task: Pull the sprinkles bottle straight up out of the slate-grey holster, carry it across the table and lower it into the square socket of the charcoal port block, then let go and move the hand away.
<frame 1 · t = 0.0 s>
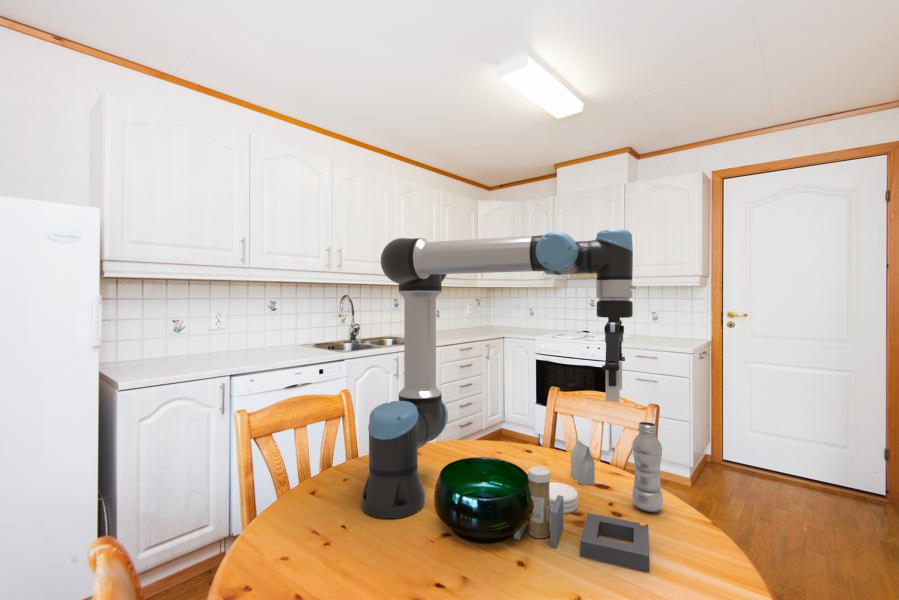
hand: (614, 394, 96), 28 cm above the table, tool pointing down, fingers open, 13 cm apart
port block: (615, 547, 86), on the table
grey gabled carton: (582, 480, 118), on the table
white round stack: (556, 505, 104), on the table
plastic bottle: (647, 509, 101), on the table
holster: (539, 533, 91), on the table
sprinkles bottle: (539, 534, 91), on the table
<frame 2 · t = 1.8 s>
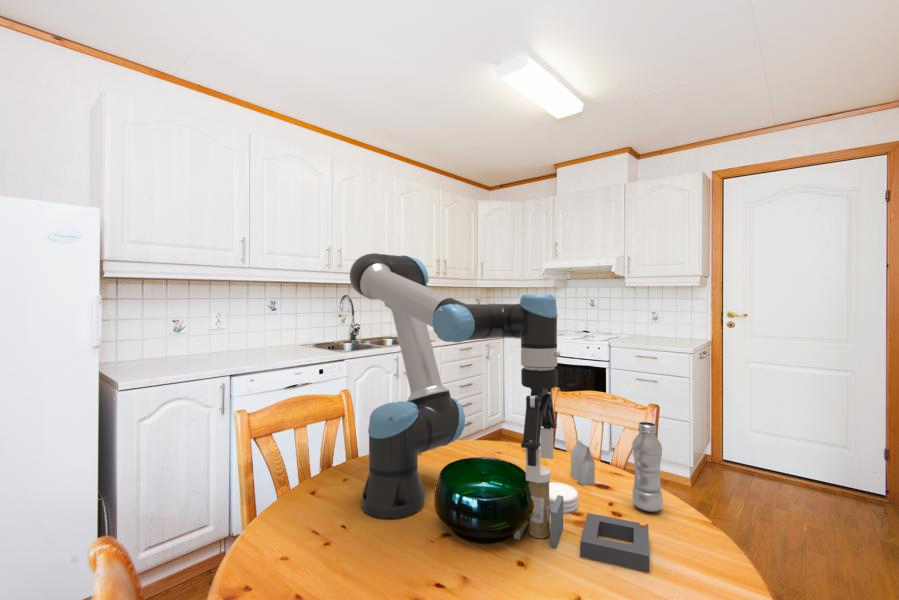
hand: (540, 468, 90), 14 cm above the table, tool pointing down, fingers open, 13 cm apart
nothing on the table moved.
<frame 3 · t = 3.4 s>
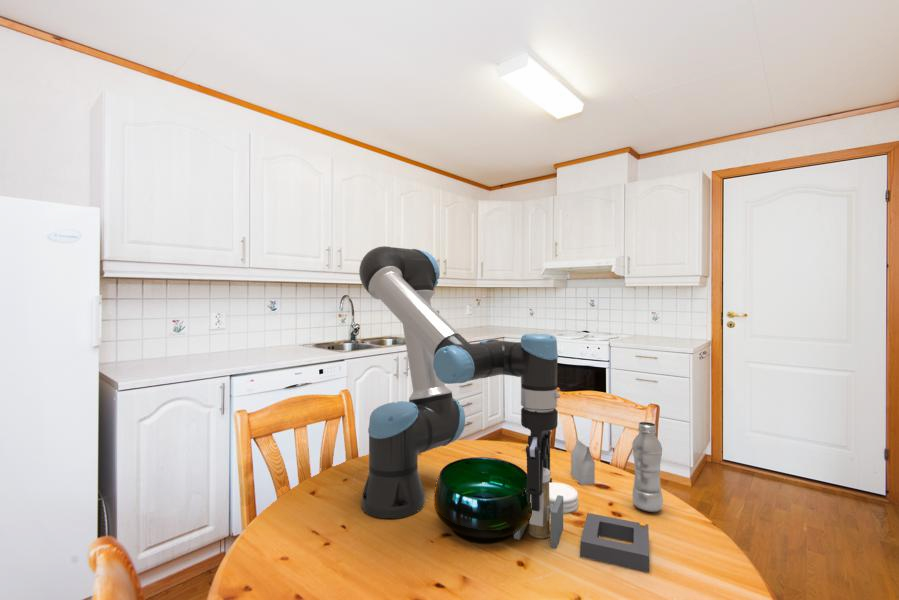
hand: (539, 518, 91), 3 cm above the table, tool pointing down, fingers closed on sprinkles bottle, 4 cm apart
sprinkles bottle: (539, 534, 91), on the table, touching gripper
everything else where it was.
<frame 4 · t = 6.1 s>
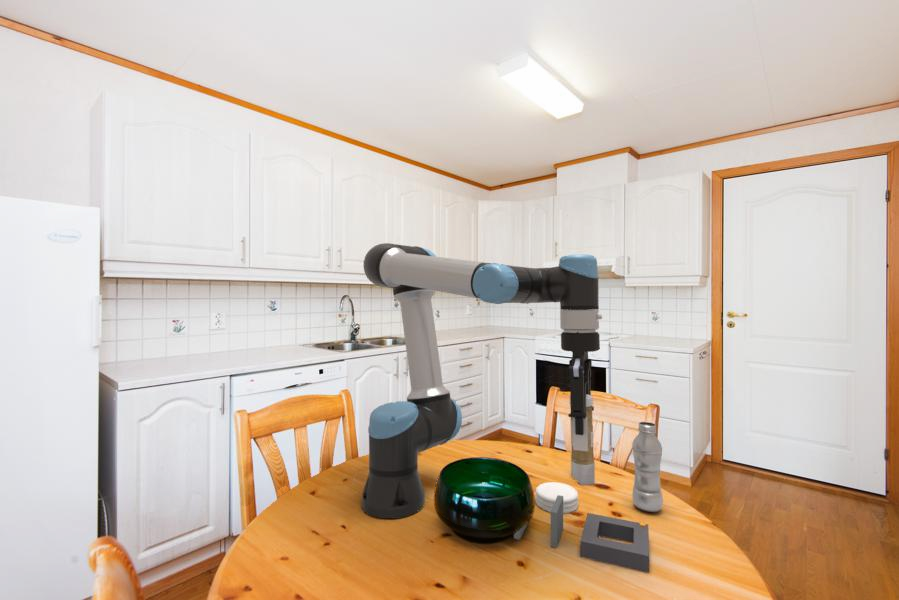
hand: (582, 445, 87), 20 cm above the table, tool pointing down, fingers closed on sprinkles bottle, 4 cm apart
sprinkles bottle: (582, 462, 87), point 16 cm above the table, touching gripper
everything else where it was.
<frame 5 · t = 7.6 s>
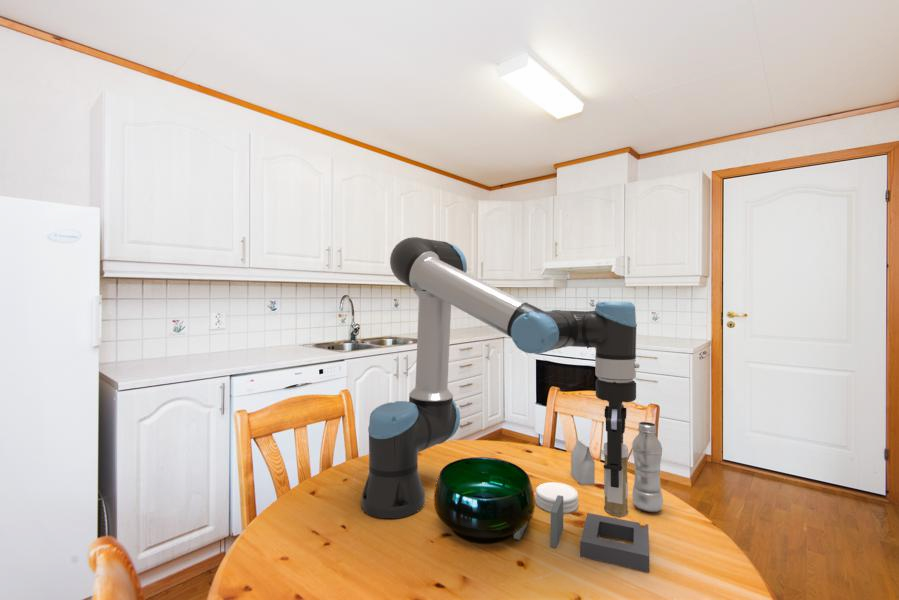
hand: (615, 496, 85), 10 cm above the table, tool pointing down, fingers closed on sprinkles bottle, 4 cm apart
sprinkles bottle: (615, 513, 85), point 7 cm above the table, touching gripper
everything else where it was.
when the fingers open (5 cm above the table, at t = 9.0 s): sprinkles bottle drops 1 cm, on the table.
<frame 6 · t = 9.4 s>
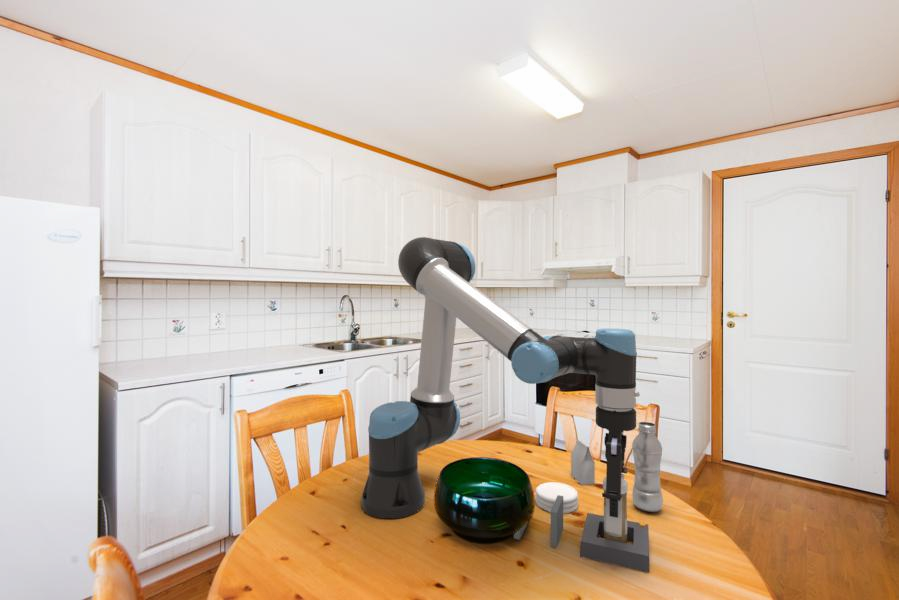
hand: (615, 517, 86), 6 cm above the table, tool pointing down, fingers open, 11 cm apart
sprinkles bottle: (615, 548, 86), on the table
everything else where it was.
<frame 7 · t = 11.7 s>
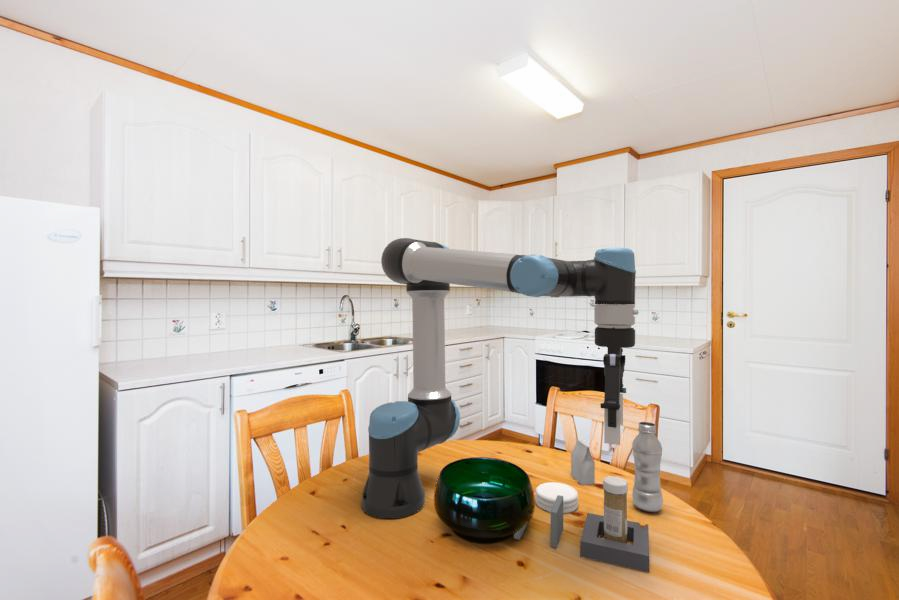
hand: (614, 433, 86), 23 cm above the table, tool pointing down, fingers open, 13 cm apart
nothing on the table moved.
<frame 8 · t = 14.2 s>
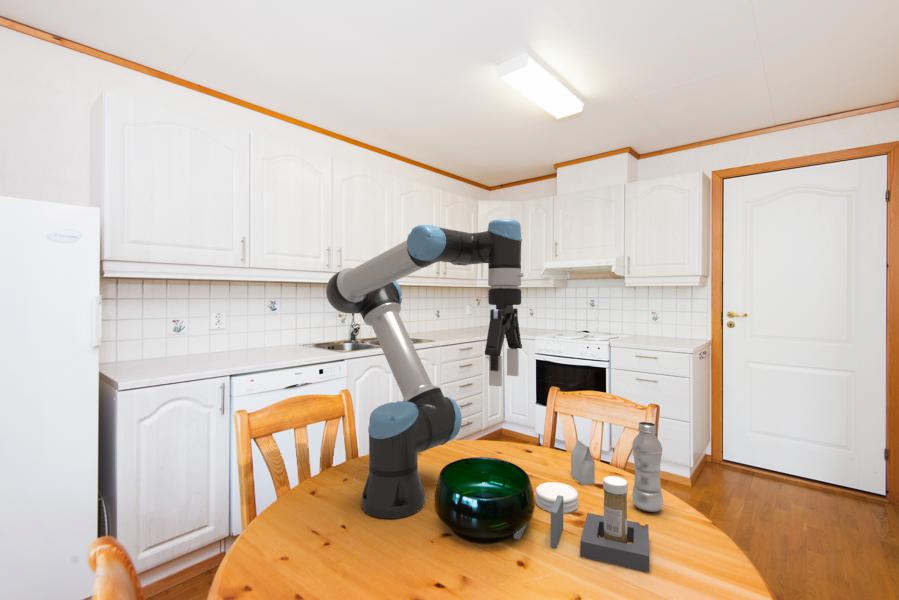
hand: (504, 380, 99), 31 cm above the table, tool pointing down, fingers open, 13 cm apart
nothing on the table moved.
at the end: sprinkles bottle 0.1 cm off-centre on the port block, point 0.0 cm above the port block's base; sprinkles bottle tilted 0°; the gripper is holding nothing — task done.
